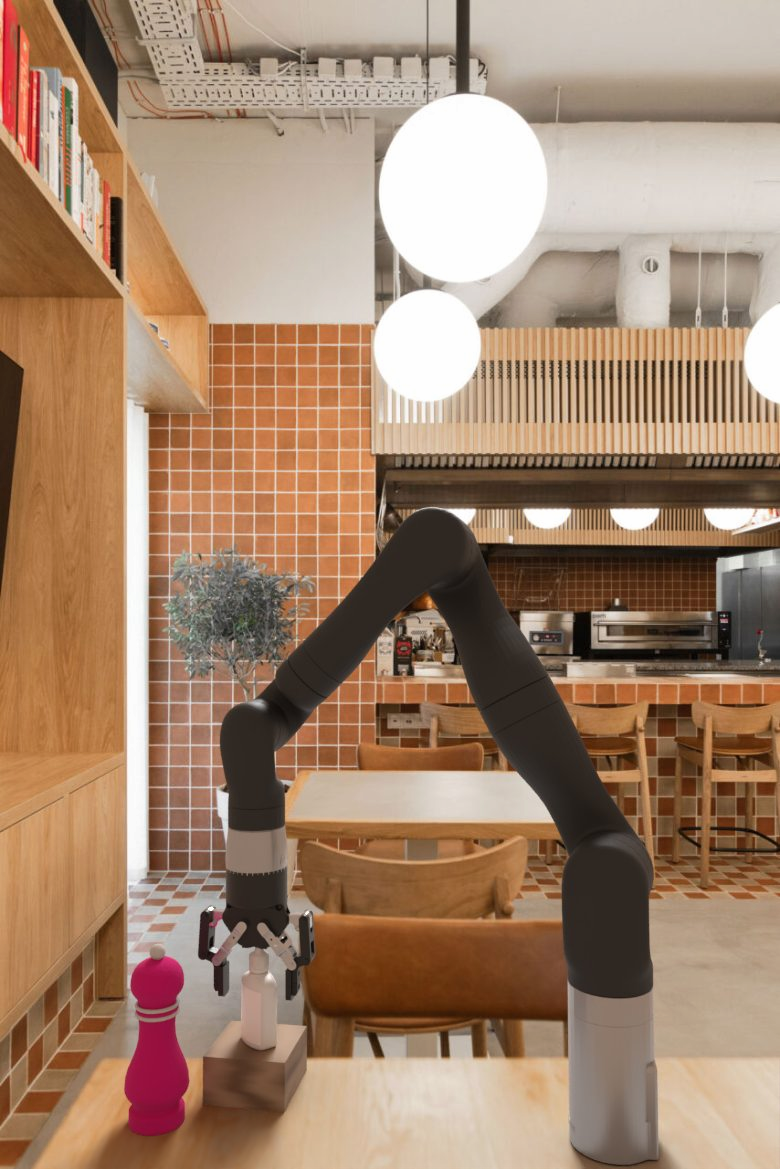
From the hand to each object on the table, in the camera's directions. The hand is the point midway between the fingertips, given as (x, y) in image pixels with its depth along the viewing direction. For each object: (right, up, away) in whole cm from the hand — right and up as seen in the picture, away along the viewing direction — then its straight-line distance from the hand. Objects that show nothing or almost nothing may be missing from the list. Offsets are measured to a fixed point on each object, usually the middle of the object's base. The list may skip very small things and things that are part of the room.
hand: (256, 996), depth 114 cm
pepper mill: (-10, -11, -8) cm, 17 cm away
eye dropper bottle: (0, -6, 0) cm, 6 cm away
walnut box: (0, -11, 0) cm, 11 cm away
